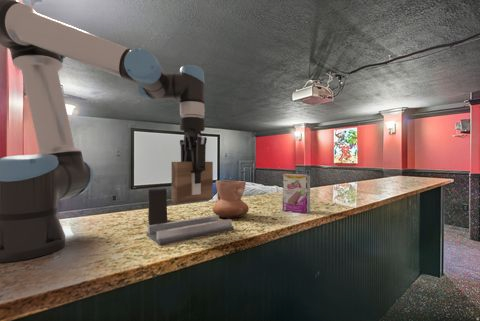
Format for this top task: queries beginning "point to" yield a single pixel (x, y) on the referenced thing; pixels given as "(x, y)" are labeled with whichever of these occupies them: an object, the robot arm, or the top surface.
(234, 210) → the ceramic jug
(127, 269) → the top surface
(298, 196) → the candy bar box
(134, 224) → the top surface
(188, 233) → the door track
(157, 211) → the door stopper
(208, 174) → the brown wooden block
